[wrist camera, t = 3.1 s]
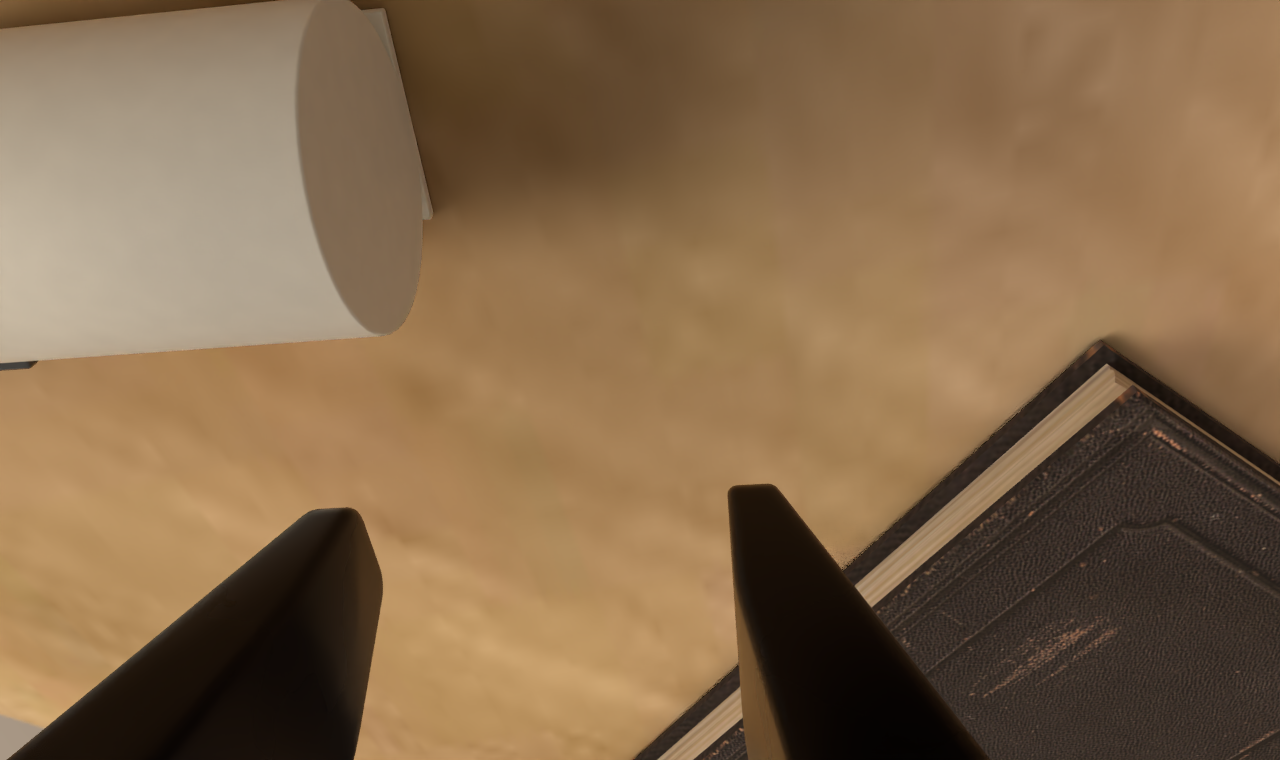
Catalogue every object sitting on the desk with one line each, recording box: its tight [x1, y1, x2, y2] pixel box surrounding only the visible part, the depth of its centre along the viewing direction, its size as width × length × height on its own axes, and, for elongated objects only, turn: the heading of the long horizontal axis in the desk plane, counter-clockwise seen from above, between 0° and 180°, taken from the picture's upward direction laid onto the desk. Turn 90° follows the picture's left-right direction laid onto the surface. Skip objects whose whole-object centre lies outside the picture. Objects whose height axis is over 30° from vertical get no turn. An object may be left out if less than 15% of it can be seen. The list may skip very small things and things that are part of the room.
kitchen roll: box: [0, 0, 433, 363], centre depth 18 cm, size 10×6×6 cm, turn 96°
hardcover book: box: [634, 340, 1280, 760], centre depth 29 cm, size 16×23×2 cm
